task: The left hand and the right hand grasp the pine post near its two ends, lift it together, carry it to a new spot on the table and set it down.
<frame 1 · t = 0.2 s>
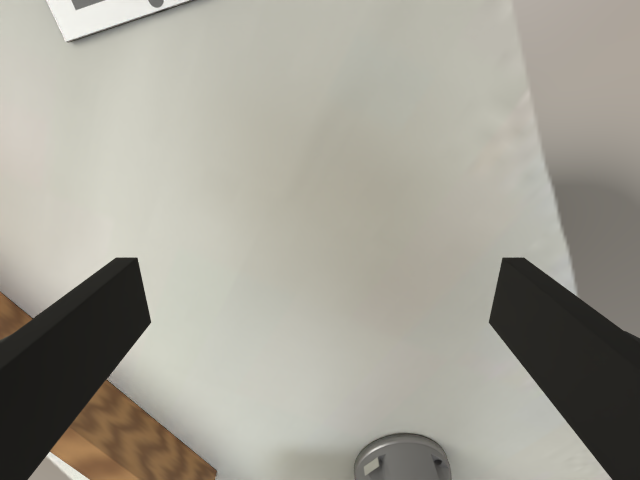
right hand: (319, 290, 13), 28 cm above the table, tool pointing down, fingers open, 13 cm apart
post: (72, 370, 49), on the table
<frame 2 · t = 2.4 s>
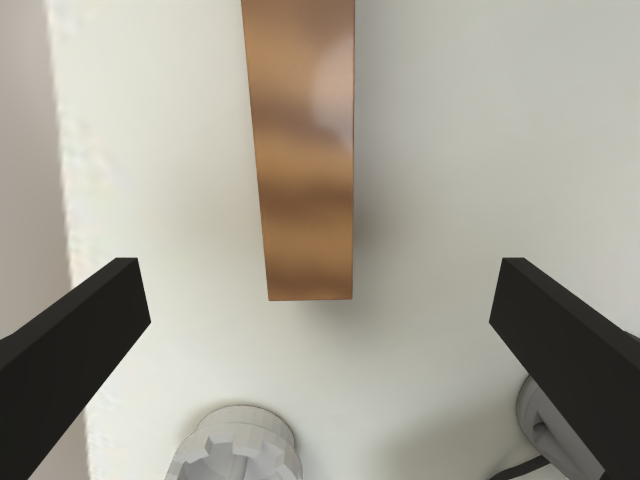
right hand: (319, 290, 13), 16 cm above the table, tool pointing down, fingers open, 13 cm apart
flag stand: (245, 441, 38), on the table
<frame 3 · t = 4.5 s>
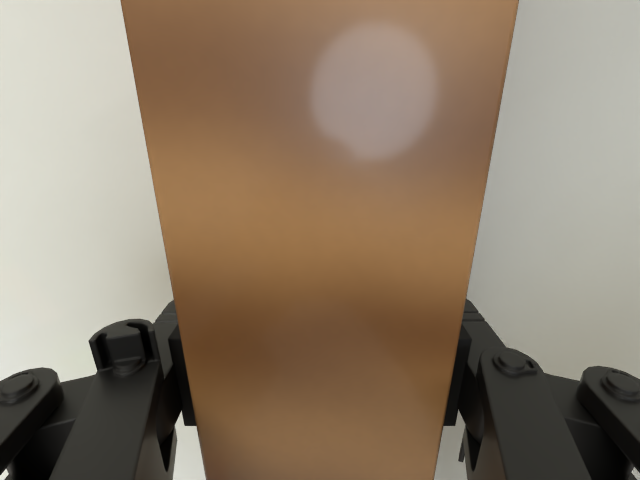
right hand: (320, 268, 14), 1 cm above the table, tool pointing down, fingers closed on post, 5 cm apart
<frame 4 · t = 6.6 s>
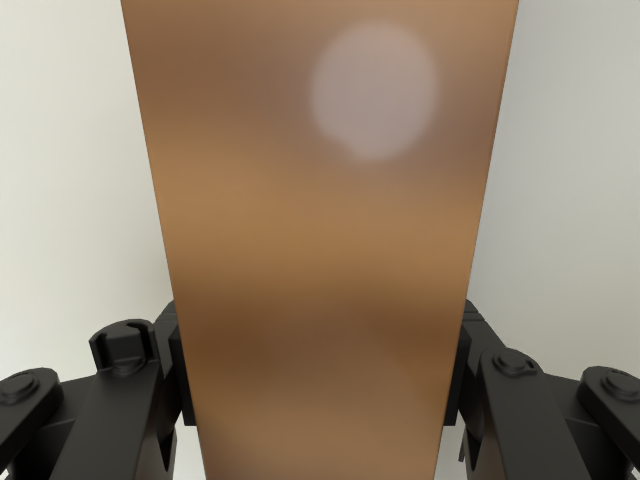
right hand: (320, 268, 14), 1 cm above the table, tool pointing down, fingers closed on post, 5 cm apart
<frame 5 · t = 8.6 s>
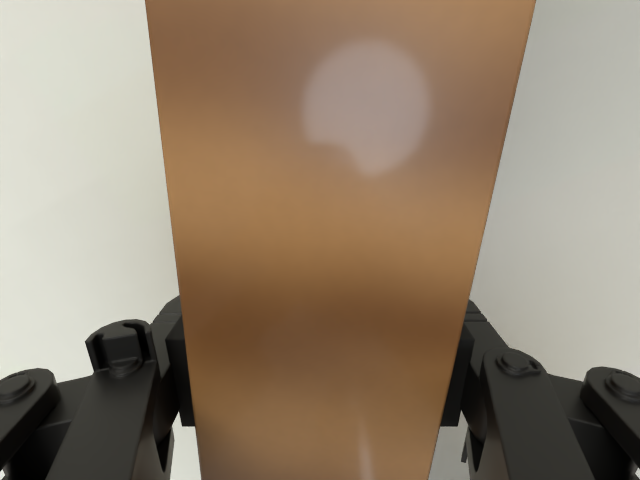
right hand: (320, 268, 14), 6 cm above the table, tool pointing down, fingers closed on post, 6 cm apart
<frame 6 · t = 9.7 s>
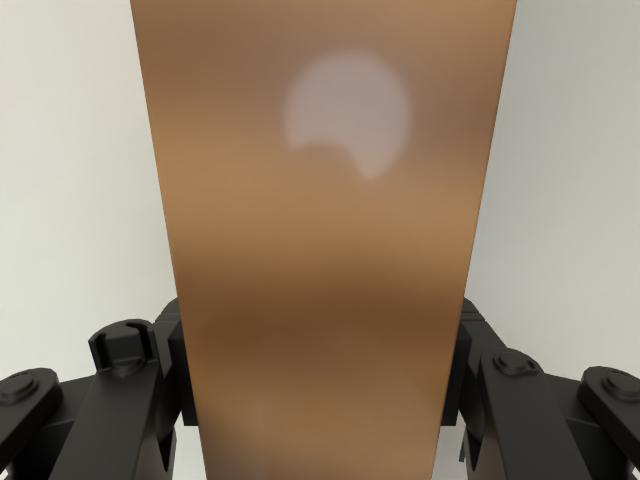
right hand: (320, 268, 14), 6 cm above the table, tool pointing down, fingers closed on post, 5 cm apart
when the left hand's fingers open (2 cm above the table, at t = 10.5 s): post drops 1 cm, on the table.
when the right hand's fingers open (2 cm above the table, at t = 10.5 s): post drops 1 cm, on the table.
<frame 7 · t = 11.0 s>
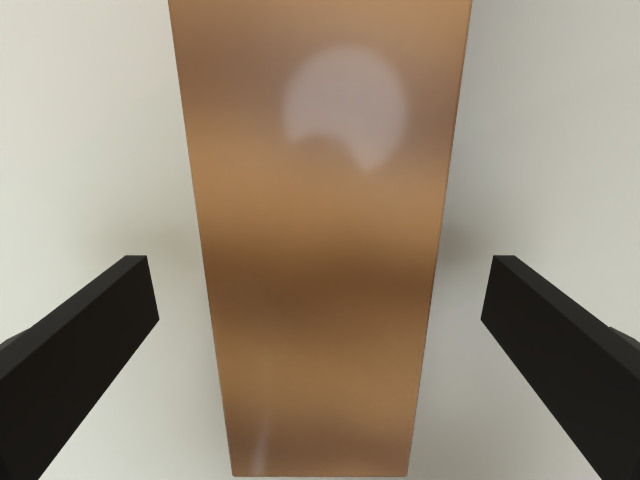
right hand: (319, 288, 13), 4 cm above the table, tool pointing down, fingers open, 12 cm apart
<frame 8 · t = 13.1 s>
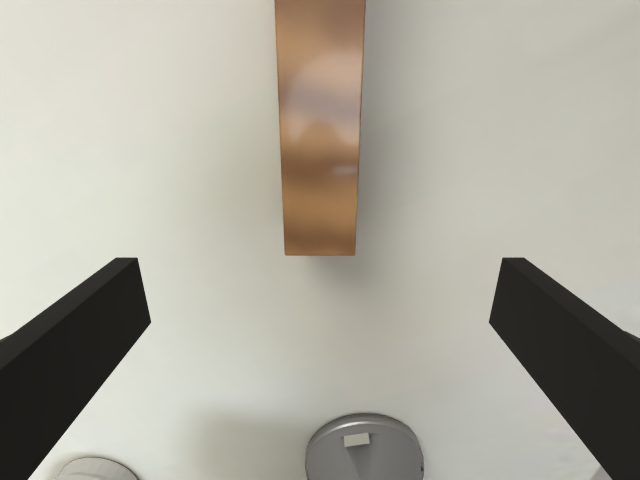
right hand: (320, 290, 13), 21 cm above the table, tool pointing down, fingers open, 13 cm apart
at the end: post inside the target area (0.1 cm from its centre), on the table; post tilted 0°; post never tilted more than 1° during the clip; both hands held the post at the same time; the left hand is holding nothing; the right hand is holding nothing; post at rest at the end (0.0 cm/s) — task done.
